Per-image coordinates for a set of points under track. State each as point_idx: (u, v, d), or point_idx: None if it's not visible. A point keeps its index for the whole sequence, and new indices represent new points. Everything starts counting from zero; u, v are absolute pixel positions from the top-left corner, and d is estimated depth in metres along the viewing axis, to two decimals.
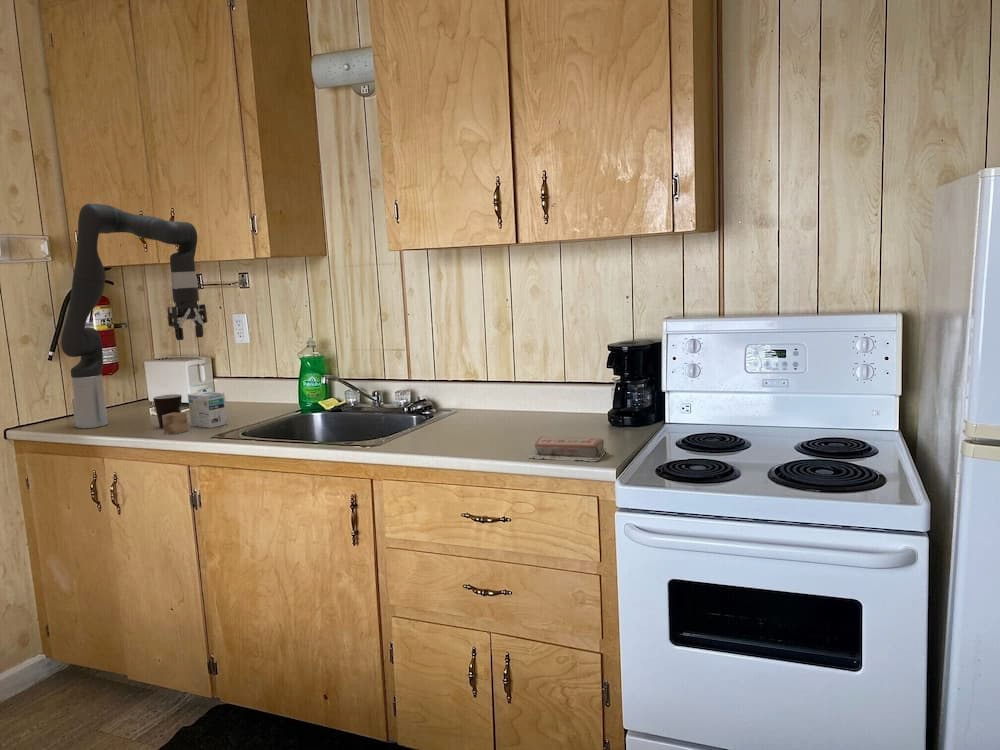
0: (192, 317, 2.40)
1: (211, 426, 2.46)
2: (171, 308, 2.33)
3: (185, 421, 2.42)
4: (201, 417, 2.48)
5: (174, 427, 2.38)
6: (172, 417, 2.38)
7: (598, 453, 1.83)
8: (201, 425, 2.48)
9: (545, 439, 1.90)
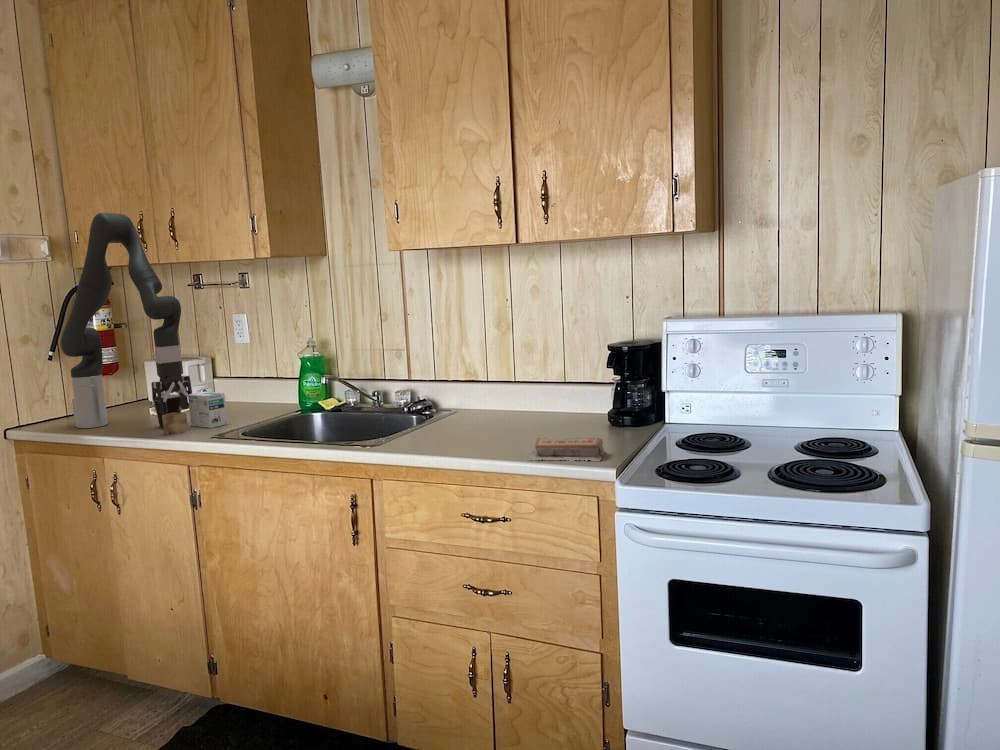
0: (176, 390, 2.40)
1: (211, 426, 2.46)
2: (155, 383, 2.33)
3: (185, 421, 2.42)
4: (201, 417, 2.48)
5: (174, 427, 2.38)
6: (172, 417, 2.38)
7: (600, 452, 1.84)
8: (201, 425, 2.48)
9: (544, 440, 1.89)
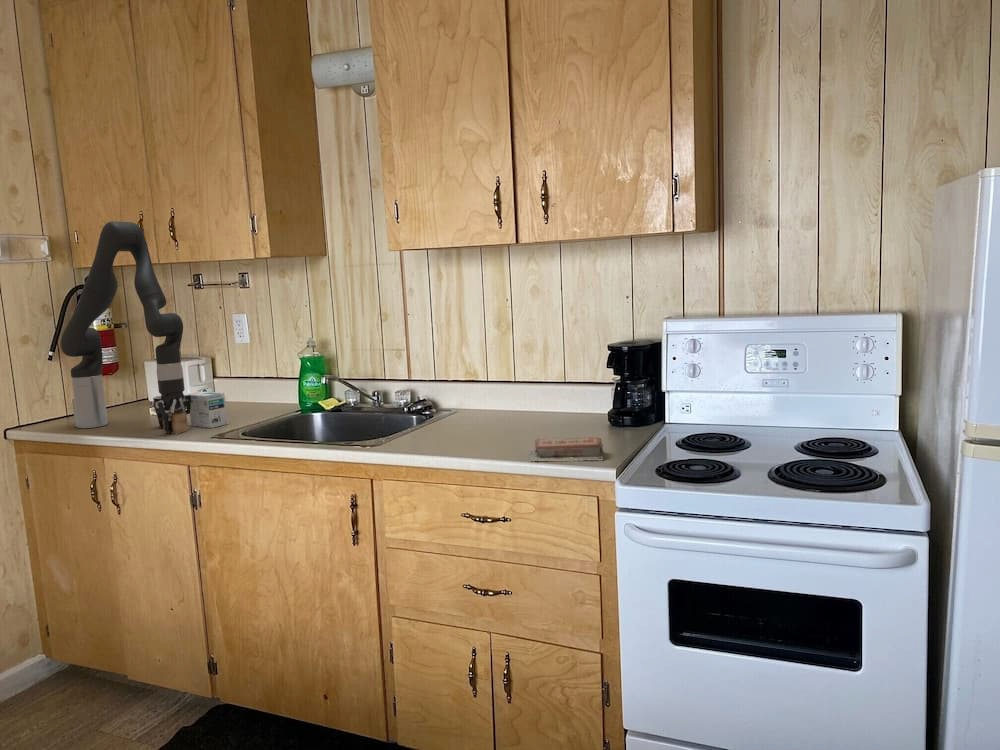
0: (176, 406, 2.40)
1: (211, 426, 2.46)
2: (157, 404, 2.34)
3: (185, 421, 2.42)
4: (201, 417, 2.48)
5: (174, 427, 2.39)
6: (172, 417, 2.38)
7: (602, 452, 1.84)
8: (201, 425, 2.48)
9: (543, 441, 1.88)
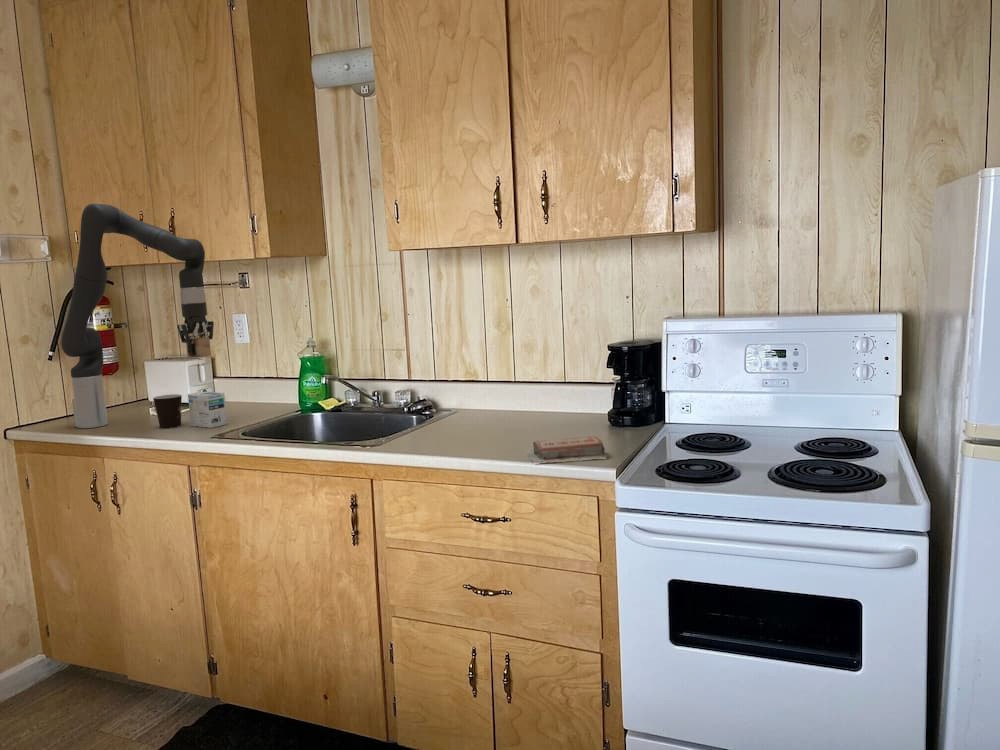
0: (199, 331, 2.46)
1: (211, 426, 2.46)
2: (181, 326, 2.39)
3: (208, 345, 2.47)
4: (201, 417, 2.48)
5: (197, 350, 2.44)
6: (195, 340, 2.43)
7: (603, 450, 1.85)
8: (201, 425, 2.48)
9: (544, 442, 1.86)
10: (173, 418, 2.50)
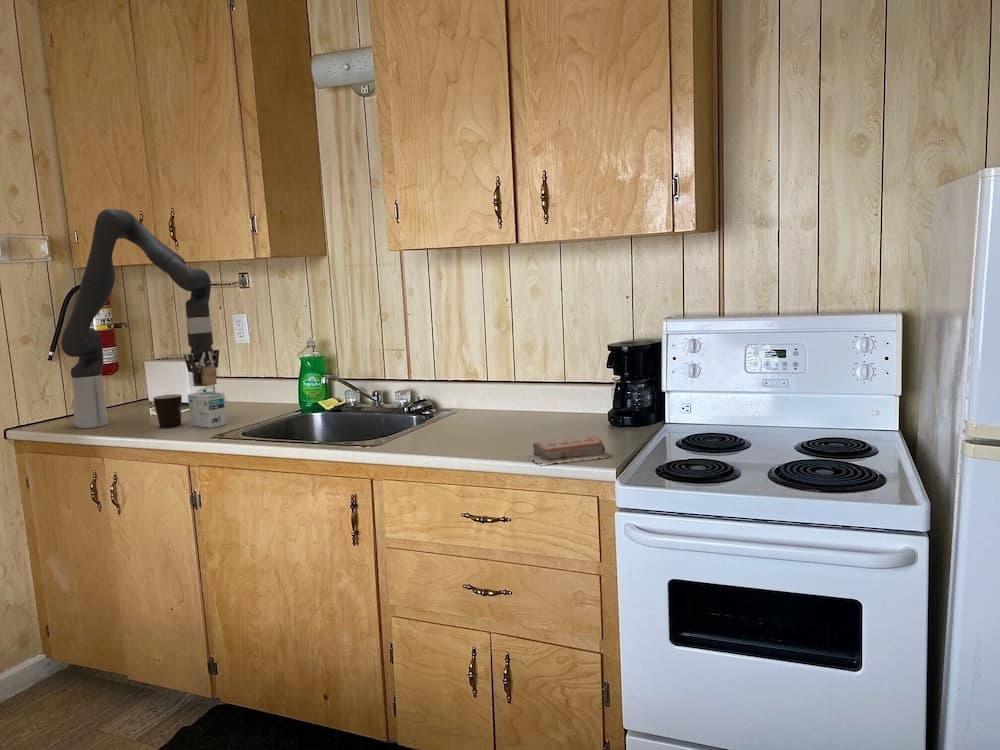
0: (205, 360, 2.48)
1: (211, 426, 2.46)
2: (187, 356, 2.42)
3: (214, 374, 2.50)
4: (201, 417, 2.48)
5: (204, 379, 2.46)
6: (202, 369, 2.46)
7: (604, 450, 1.86)
8: (201, 425, 2.48)
9: (545, 443, 1.85)
10: (173, 418, 2.50)
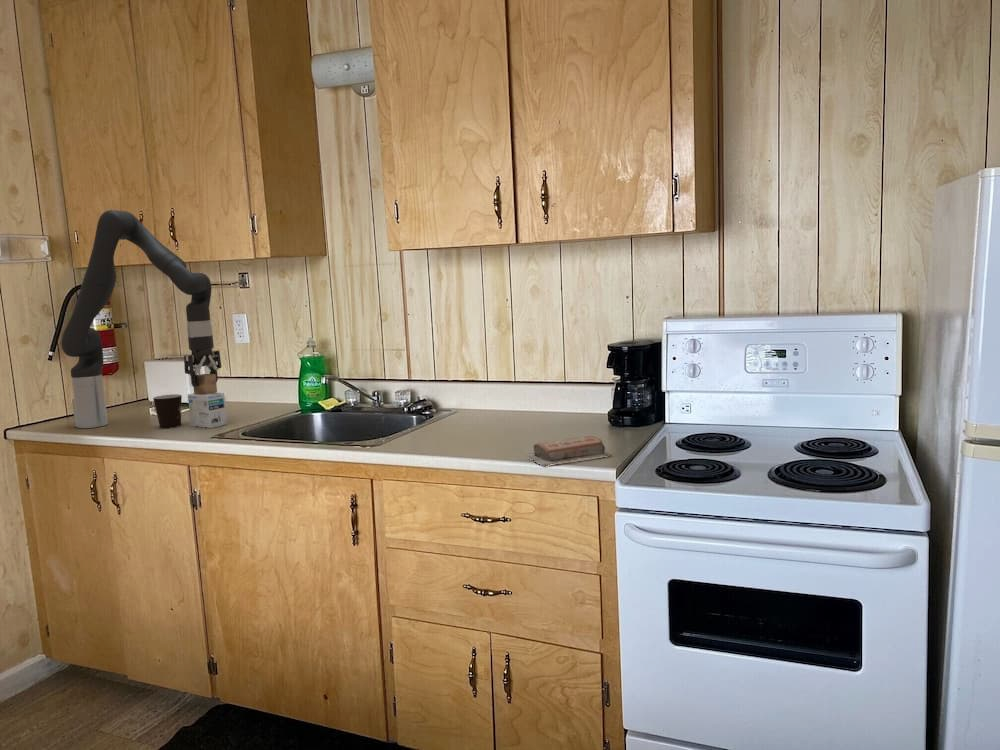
0: (207, 364, 2.49)
1: (211, 426, 2.46)
2: (187, 356, 2.42)
3: (214, 382, 2.50)
4: (201, 417, 2.48)
5: (204, 387, 2.47)
6: (202, 378, 2.46)
7: (604, 449, 1.87)
8: (201, 425, 2.48)
9: (547, 444, 1.84)
10: (173, 418, 2.50)
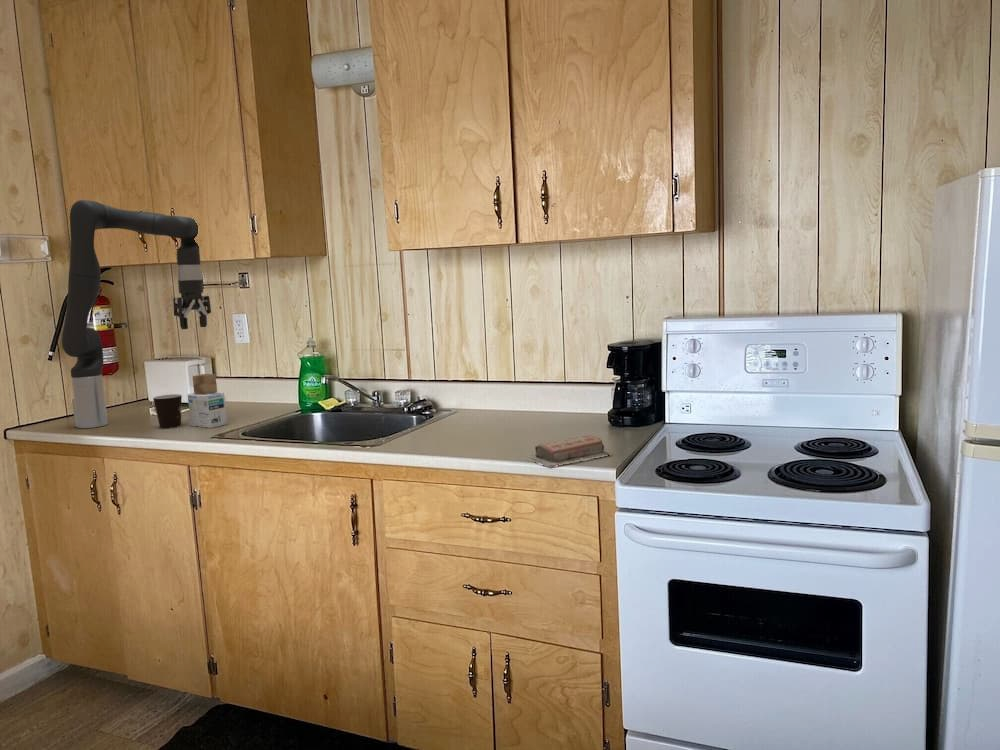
0: (196, 308, 2.53)
1: (211, 426, 2.46)
2: (176, 299, 2.46)
3: (214, 382, 2.50)
4: (201, 417, 2.48)
5: (204, 387, 2.47)
6: (202, 377, 2.46)
7: (603, 448, 1.88)
8: (201, 425, 2.48)
9: (550, 445, 1.83)
10: (173, 418, 2.50)
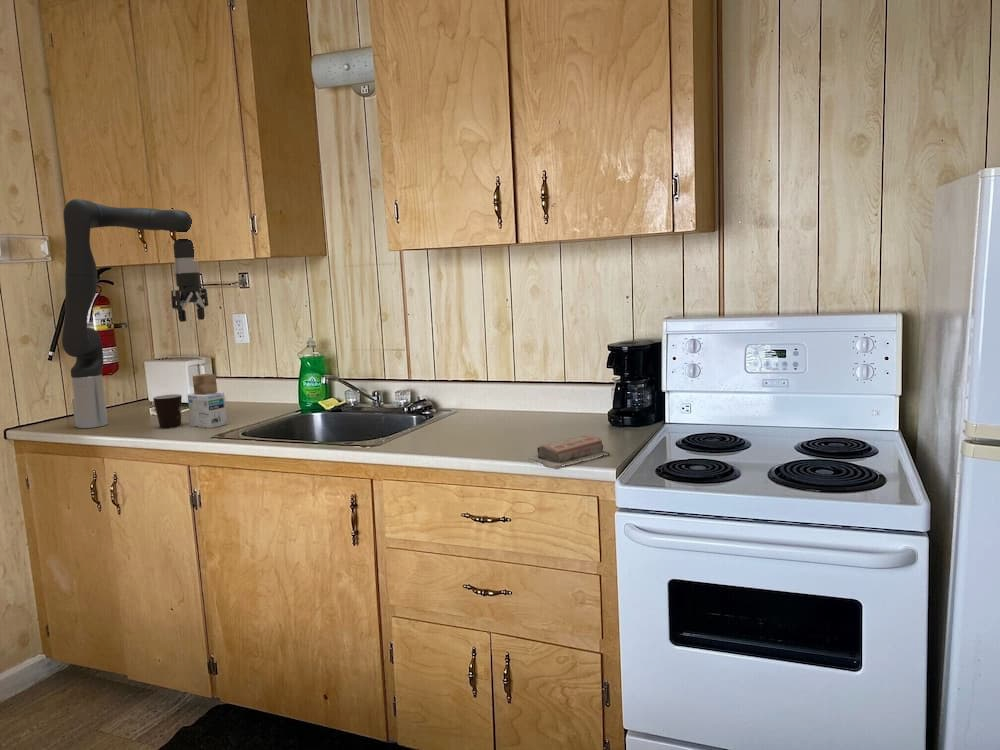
0: (194, 300, 2.56)
1: (211, 426, 2.46)
2: (174, 291, 2.49)
3: (214, 382, 2.50)
4: (201, 417, 2.48)
5: (204, 387, 2.47)
6: (203, 378, 2.46)
7: (602, 447, 1.89)
8: (201, 425, 2.48)
9: (553, 446, 1.82)
10: (173, 418, 2.50)
